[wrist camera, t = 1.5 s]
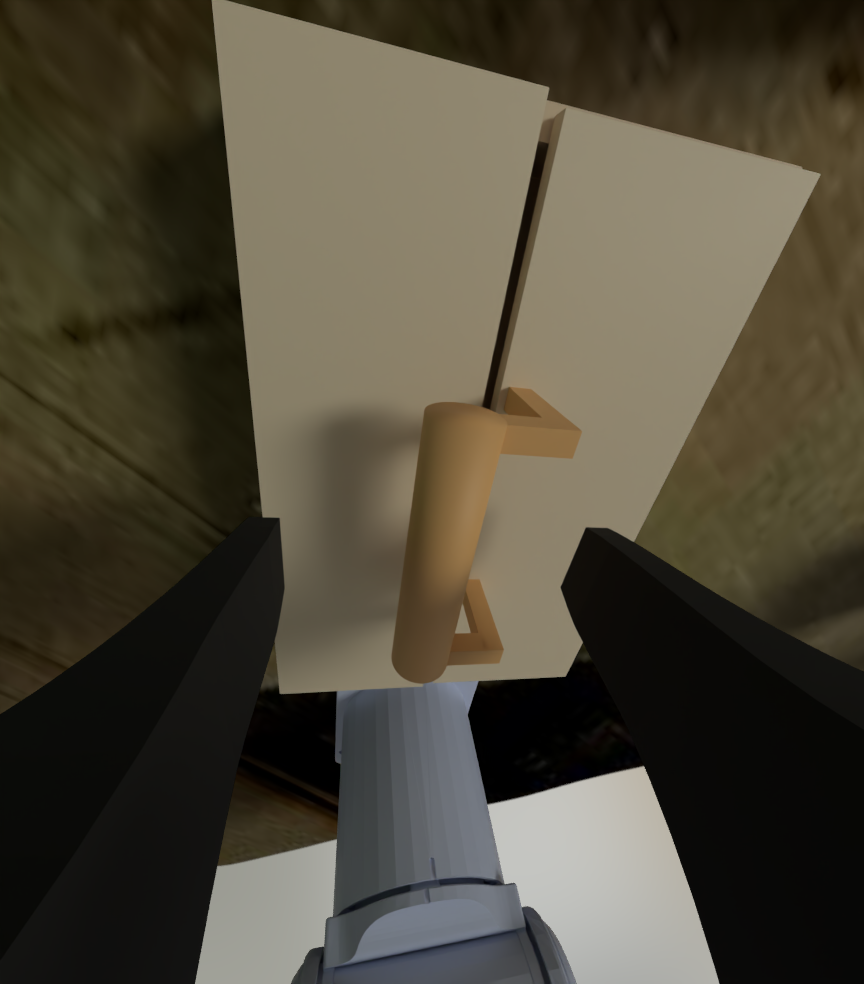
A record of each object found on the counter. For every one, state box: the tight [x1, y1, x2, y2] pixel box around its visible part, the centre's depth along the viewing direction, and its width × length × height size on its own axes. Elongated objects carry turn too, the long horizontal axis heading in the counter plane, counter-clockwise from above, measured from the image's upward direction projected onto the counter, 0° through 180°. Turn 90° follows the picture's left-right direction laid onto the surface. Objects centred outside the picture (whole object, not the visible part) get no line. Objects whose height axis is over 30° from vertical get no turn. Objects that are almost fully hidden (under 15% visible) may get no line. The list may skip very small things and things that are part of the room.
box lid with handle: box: [391, 108, 821, 684], centre depth 11 cm, size 18×8×4 cm, turn 172°
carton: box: [212, 0, 802, 694], centre depth 13 cm, size 18×12×4 cm, turn 172°
